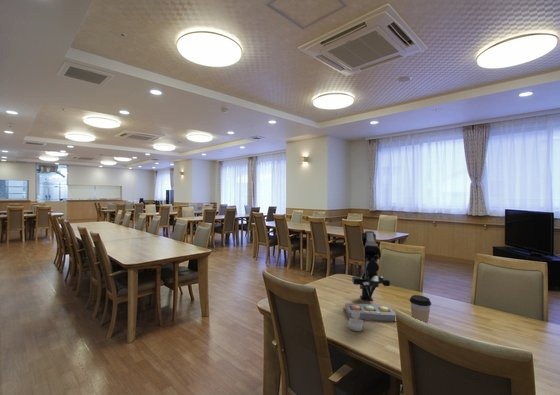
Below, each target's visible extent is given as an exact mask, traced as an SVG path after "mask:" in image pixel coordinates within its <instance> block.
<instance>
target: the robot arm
mask: <svg viewBox="0 0 560 395" xmlns="http://www.w3.org/2000/svg"><path fill="white" fill-rule="evenodd" d="M360 236H361V237H360V242H361V244H362V246H363V259H364V260H363V261H364V262H363V273H362V274H361V276H355V275H354V276H352V278H351V282H352V284H353V285H357V286H358V285H359V290H361V294H360V295H359V297H360V298H361V300H363V301H374V299H373V297H372V296H373V294H374V292H375V290H376V289H377V288H379V286H380V284H381V285H383V286H384V287H390V286H391V281H390V280H389V279H388V278H386V277H383V276H382V275H381V276H380V275H378V271H379V270H380V266H379V264H378V260H380V259H381V257H382V256H381V255H382V254H381V249H380V246H378V243H376V240H377V234H376V233H375V231H373V230H366V231H364V232H362V233H361V235H360Z"/></svg>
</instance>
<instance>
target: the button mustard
mask: <svg viewBox="0 0 560 395" xmlns="http://www.w3.org/2000/svg"><path fill="white" fill-rule="evenodd" d="M380 312H389V308H387V307H383V306H382V307H380Z"/></svg>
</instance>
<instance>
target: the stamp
mask: <svg viewBox="0 0 560 395" xmlns="http://www.w3.org/2000/svg"><path fill="white" fill-rule="evenodd" d="M351 317H353V318H350V319H349V318H348V319H349V320H348V321H347V320H346V322H345V325H347V326H346V327H347V328H348V329H349V330H350V331H355V332H361V331H362V330H363V329H365V328H366V324H364V319H358V318H359V317H360V311H356V310H352V313H351Z"/></svg>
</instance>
